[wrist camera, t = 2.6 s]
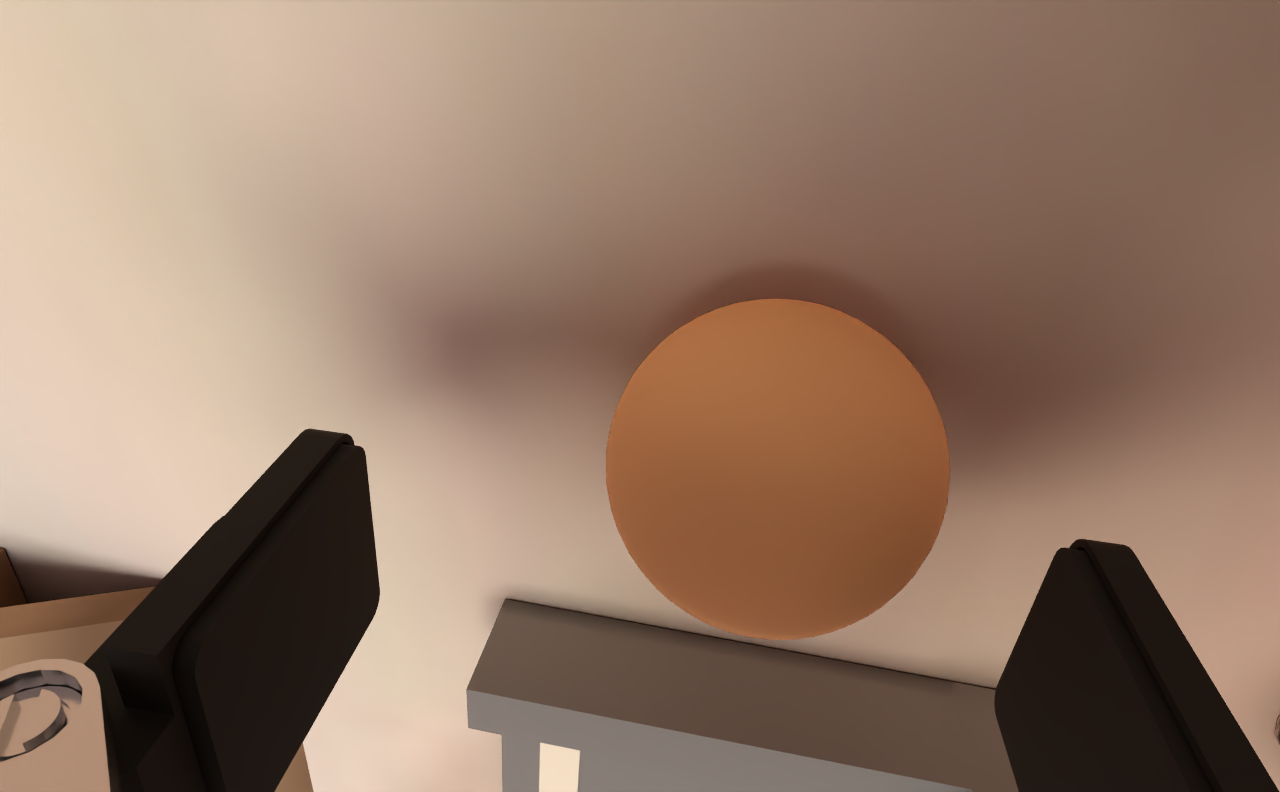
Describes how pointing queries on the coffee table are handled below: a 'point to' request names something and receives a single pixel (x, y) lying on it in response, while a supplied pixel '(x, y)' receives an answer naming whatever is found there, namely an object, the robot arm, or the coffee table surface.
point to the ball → (777, 469)
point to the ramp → (82, 637)
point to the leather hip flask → (1278, 730)
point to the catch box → (717, 715)
